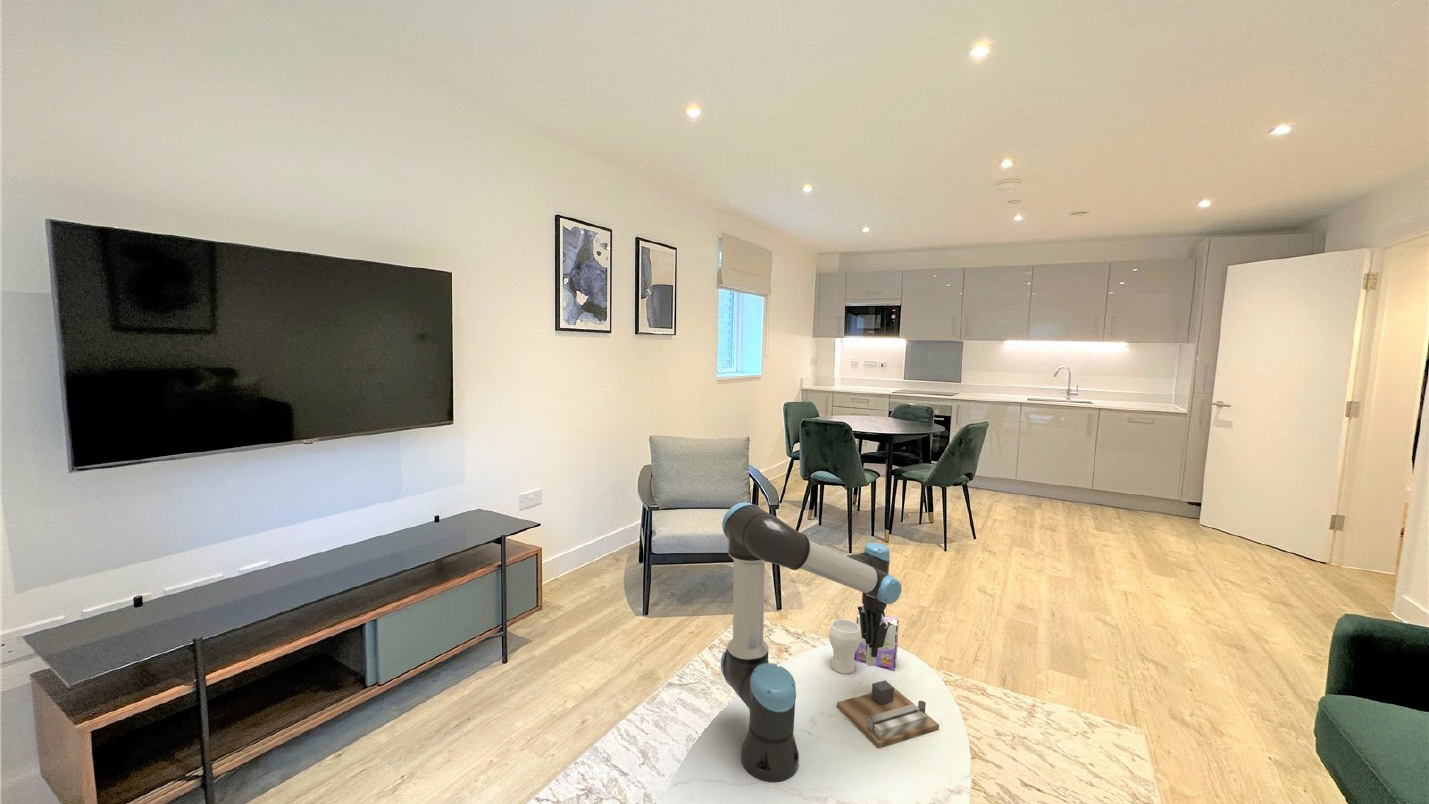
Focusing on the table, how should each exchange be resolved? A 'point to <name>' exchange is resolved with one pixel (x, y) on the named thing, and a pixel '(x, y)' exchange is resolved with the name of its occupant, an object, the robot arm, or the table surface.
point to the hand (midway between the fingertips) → (870, 664)
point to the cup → (844, 644)
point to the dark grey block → (882, 692)
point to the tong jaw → (890, 715)
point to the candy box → (889, 649)
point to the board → (874, 708)
